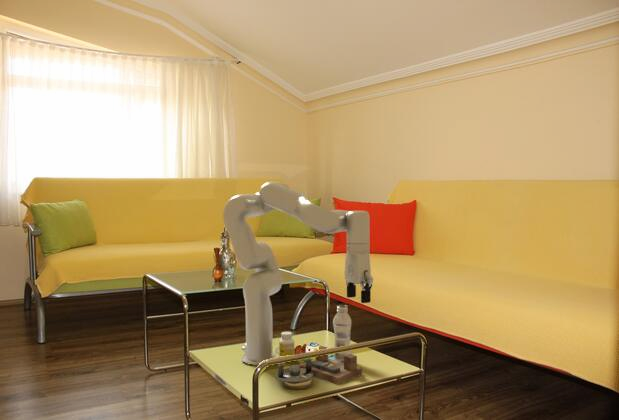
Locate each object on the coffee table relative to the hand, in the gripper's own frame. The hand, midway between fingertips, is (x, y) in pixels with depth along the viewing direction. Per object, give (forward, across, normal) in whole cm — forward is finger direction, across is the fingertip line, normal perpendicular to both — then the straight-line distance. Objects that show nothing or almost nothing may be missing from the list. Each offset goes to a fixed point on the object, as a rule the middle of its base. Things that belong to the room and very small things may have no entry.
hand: (358, 299), depth 176 cm
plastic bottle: (+25, -12, 0) cm, 28 cm away
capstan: (+25, 0, -23) cm, 33 cm away
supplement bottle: (+25, -23, -17) cm, 38 cm away
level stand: (+25, -5, -8) cm, 26 cm away
